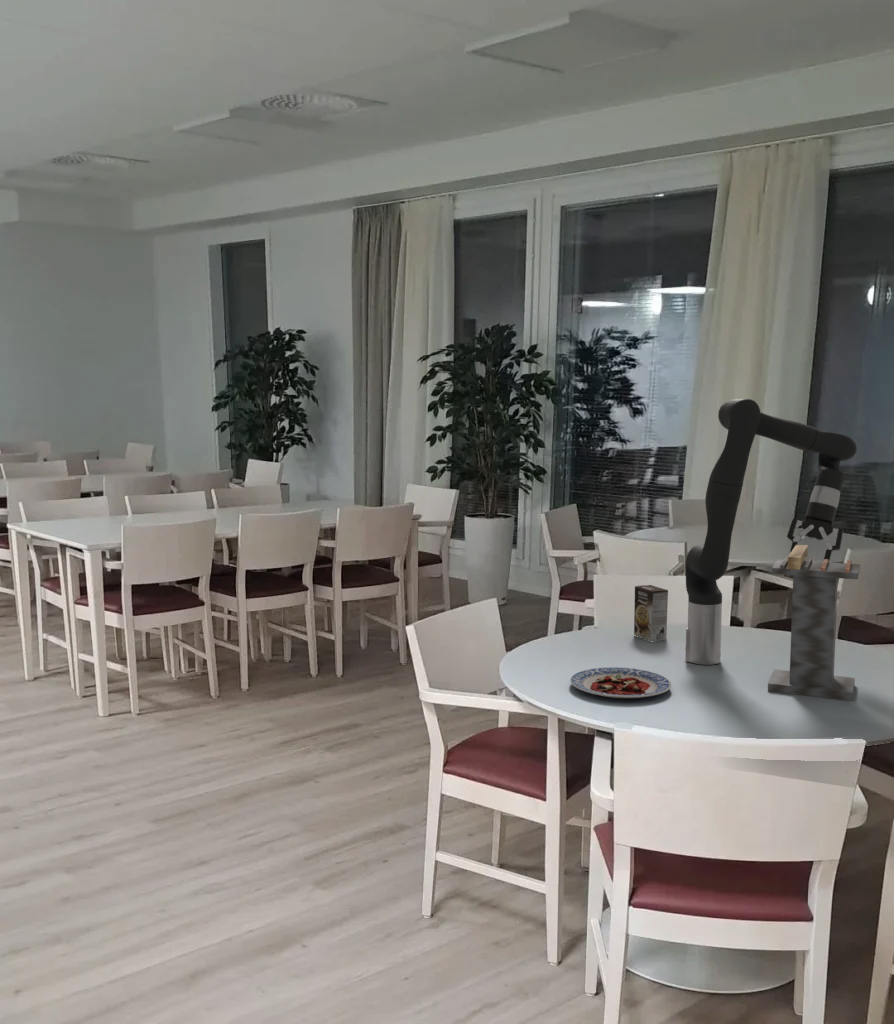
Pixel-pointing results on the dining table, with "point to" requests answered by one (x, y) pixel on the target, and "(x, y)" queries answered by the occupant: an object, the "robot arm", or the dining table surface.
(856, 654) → the dining table surface
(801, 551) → the oak bar
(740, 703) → the dining table surface
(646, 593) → the printed cardboard box
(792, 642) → the grey pedestal stand
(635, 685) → the ceramic plate
